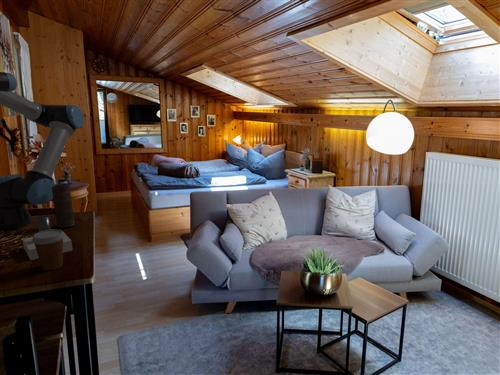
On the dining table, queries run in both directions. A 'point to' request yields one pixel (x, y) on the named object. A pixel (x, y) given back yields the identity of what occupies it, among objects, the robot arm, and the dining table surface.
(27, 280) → the dining table surface
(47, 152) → the robot arm
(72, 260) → the dining table surface
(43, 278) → the dining table surface
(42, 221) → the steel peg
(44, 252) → the disposable coffee cup
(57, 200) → the candle
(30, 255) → the hole block
